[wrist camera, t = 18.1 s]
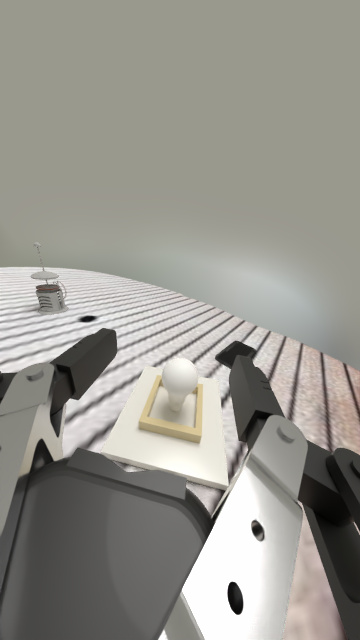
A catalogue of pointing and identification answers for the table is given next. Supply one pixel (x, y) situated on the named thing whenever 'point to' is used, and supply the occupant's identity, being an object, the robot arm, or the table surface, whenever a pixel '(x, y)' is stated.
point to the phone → (234, 353)
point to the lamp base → (172, 432)
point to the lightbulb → (179, 381)
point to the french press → (49, 293)
